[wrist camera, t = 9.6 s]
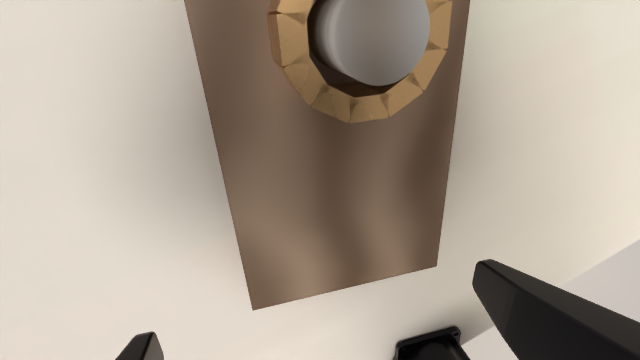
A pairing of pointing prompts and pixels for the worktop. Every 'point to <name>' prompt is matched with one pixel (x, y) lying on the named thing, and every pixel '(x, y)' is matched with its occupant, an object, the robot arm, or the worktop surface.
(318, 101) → the wooden ring
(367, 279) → the post board
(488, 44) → the worktop surface
